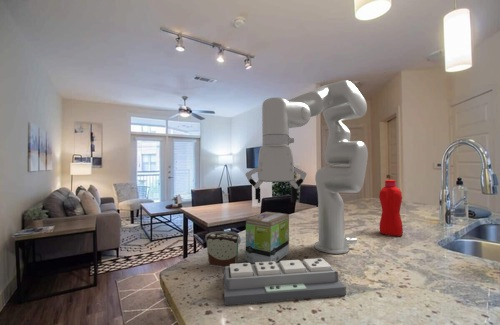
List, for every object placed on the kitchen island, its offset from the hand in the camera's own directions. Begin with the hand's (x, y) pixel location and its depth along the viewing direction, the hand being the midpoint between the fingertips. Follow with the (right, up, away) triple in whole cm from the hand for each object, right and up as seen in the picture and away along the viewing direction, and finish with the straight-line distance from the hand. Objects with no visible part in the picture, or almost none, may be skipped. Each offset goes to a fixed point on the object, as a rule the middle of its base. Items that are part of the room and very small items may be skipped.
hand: (275, 202), depth 69 cm
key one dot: (+4, -18, -3) cm, 19 cm away
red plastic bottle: (+59, -22, +44) cm, 77 cm away
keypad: (+1, -22, -4) cm, 22 cm away
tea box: (-1, -22, +16) cm, 28 cm away
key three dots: (+11, -18, -3) cm, 22 cm away
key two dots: (-10, -18, -5) cm, 22 cm away
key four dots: (-3, -18, -4) cm, 19 cm away
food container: (-15, -22, +11) cm, 29 cm away
